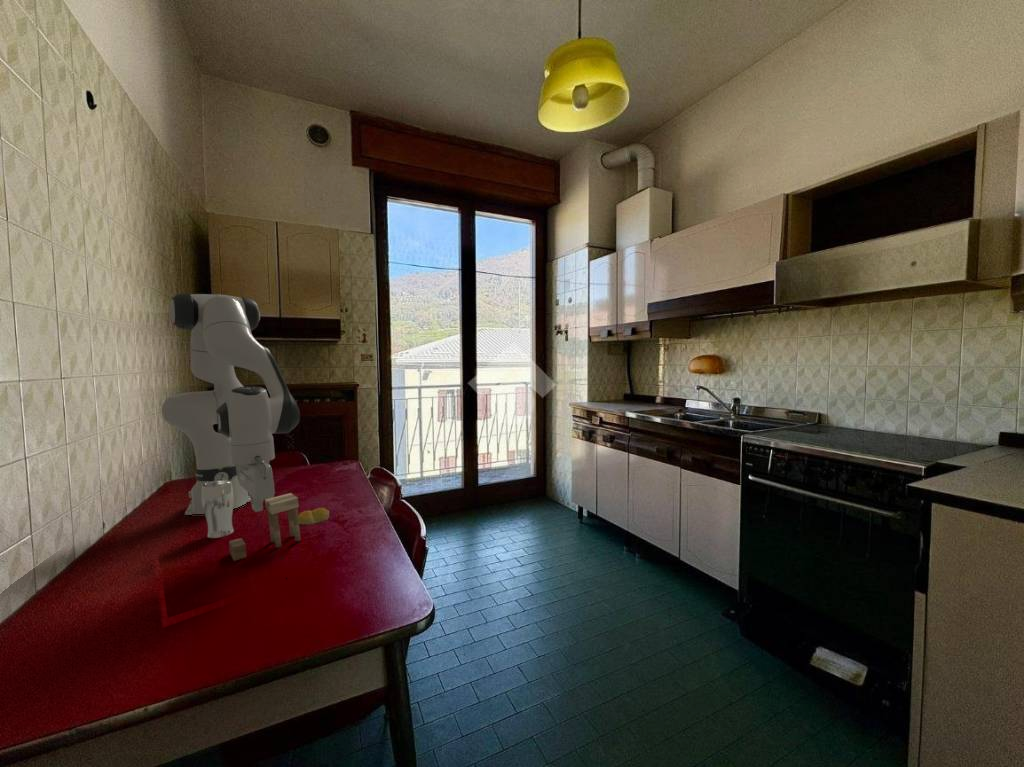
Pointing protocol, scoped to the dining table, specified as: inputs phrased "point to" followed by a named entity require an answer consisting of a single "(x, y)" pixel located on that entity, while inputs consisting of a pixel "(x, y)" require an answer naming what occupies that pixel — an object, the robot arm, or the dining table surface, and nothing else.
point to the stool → (281, 505)
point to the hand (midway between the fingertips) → (257, 510)
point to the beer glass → (218, 507)
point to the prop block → (237, 549)
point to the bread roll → (313, 516)
